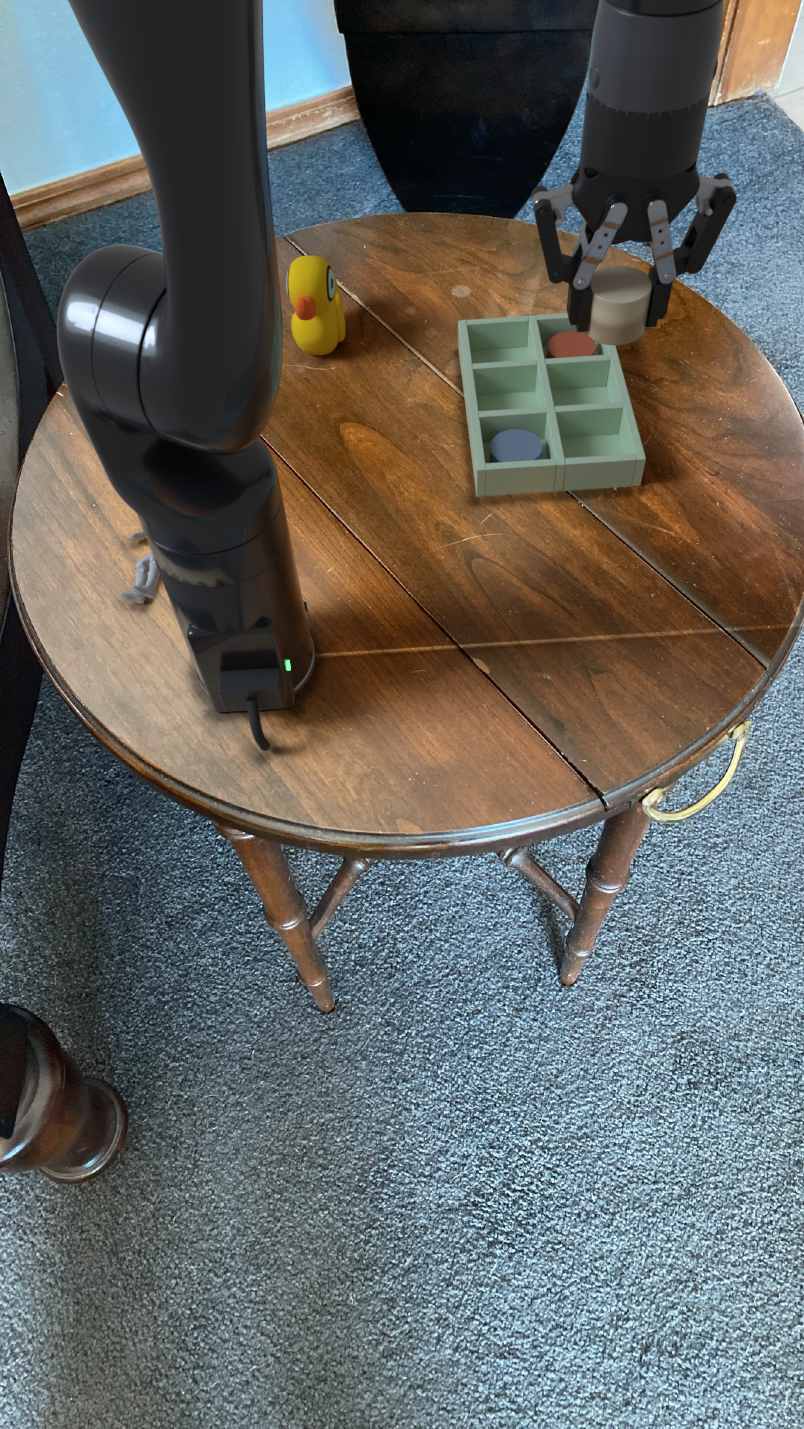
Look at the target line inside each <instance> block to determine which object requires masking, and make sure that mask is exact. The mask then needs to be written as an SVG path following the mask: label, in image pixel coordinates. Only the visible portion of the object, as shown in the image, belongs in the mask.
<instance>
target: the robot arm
mask: <svg viewBox="0 0 804 1429" xmlns="http://www.w3.org/2000/svg"><path fill="white" fill-rule="evenodd" d="M67 2H68V4H69V6H70V8H71V10H72V12H73V14H74V16H75V18H76V21H77V23H78V26H79V27H80V30H81V32H82V34H83V36H84V37H85V40H86V41H87V43H88V46H89V47H90V49H91V51H92V53H93V55H94V57H95V59H96V61H97V63H98V65H99V67H100V69H101V71H102V73H103V74H104V77H105V79H106V80H107V82H108V85H109V86H110V88H111V90H112V92H113V94H114V96H115V98H116V100H117V102H118V104H119V106H120V108H121V110H122V112H123V114H124V116H125V118H126V120H127V123H128V124H129V126H130V128H131V131H132V134H133V135H134V138H135V140H136V142H137V145H138V148H139V151H140V153H141V156H142V159H143V162H144V165H145V168H146V171H147V175H148V179H149V182H150V185H151V189H152V193H153V198H154V203H155V208H156V212H157V219H158V226H159V231H160V240H161V248H162V252H160V251H156V250H154V249H149V248H146V247H143V246H139V245H133V244H125V243H119V244H117V243H116V244H111V245H106V246H103V247H100V248H98V249H95V250H94V251H92V252H91V253H89V254H88V255H86V256H85V257H84V258H83V259H82V260H81V261H80V262H79V263H78V264H77V265H76V267H74V269H73V270H72V272H71V274H70V275H69V277H68V279H67V281H66V282H65V285H64V287H63V290H62V294H61V296H60V301H59V305H58V310H57V320H56V338H57V339H56V341H57V350H58V357H59V363H60V366H61V370H62V374H63V377H64V378H63V379H64V381H65V384H66V387H67V390H68V392H69V395H70V398H71V401H72V402H73V405H74V407H75V409H76V412H77V414H78V417H79V419H80V421H81V423H82V425H83V428H84V429H85V432H86V434H87V435H88V438H89V440H90V442H91V445H92V446H93V449H94V451H95V453H96V455H97V458H98V459H99V461H100V463H101V466H102V468H103V470H104V472H105V474H106V476H107V478H108V481H109V482H110V484H111V486H112V487H113V490H114V491H115V493H117V495H118V496H119V497H120V499H122V500H123V502H124V503H125V505H127V506H128V507H129V508H131V510H132V511H133V512H134V513H135V514H136V516H137V518H138V520H139V522H140V525H141V527H142V531H144V533H145V535H146V537H145V538H146V541H147V544H148V546H149V549H150V551H151V552H152V554H153V557H154V560H155V563H156V565H157V568H158V571H159V573H160V576H159V577H160V579H161V581H162V584H163V586H164V589H165V592H166V594H167V597H168V599H169V602H170V605H171V608H172V610H173V613H174V615H175V616H174V617H175V618H176V621H177V623H178V626H179V629H180V631H181V633H182V634H181V635H182V637H183V639H184V642H185V644H186V647H187V650H188V652H189V655H190V658H191V660H192V662H193V665H194V666H193V667H194V670H195V675H196V677H197V679H198V683H199V685H200V687H201V689H202V691H203V692H204V693H205V694H206V695H207V696H208V698H209V701H210V703H211V707H212V709H213V711H214V712H215V713H230V712H232V713H233V712H245V711H246V712H247V715H248V721H249V727H250V730H251V734H252V737H253V739H254V742H255V743H256V745H257V746H258V747H259V749H260V750H261V751H263V752H266V751H268V750H270V748H271V743H270V742H269V740H268V739H267V737H266V736H265V734H264V730H263V727H262V723H261V716H260V711H263V710H264V711H265V710H277V709H278V710H279V709H291V708H294V706H295V699H296V695H297V694H299V693H300V692H301V690H303V688H304V687H305V686H306V685H307V684H308V682H309V681H310V679H311V677H312V674H313V673H314V669H315V667H316V666H315V665H316V658H317V656H316V649H315V644H314V641H313V638H312V636H311V630H310V626H309V622H308V621H309V620H308V617H307V613H310V612H309V608H308V603H307V602H306V601H305V600H304V597H303V592H302V587H301V581H300V578H299V573H298V568H297V562H296V559H295V558H296V557H295V553H294V548H293V543H292V538H291V534H290V530H289V529H290V528H289V524H288V516H287V513H286V508H285V503H284V498H283V492H282V488H281V482H280V478H279V474H278V469H277V465H276V462H275V460H274V457H273V455H272V453H271V451H270V450H269V448H268V447H267V446H266V444H265V443H264V441H262V440H261V439H260V437H261V434H262V433H263V432H264V431H265V429H266V427H267V425H268V423H269V421H270V419H271V416H272V414H273V411H274V409H275V406H276V405H275V404H276V401H277V398H278V394H279V390H280V385H281V378H282V373H283V372H282V369H283V361H284V360H283V359H284V358H283V356H284V326H283V325H284V324H283V323H284V322H283V310H282V309H283V308H282V296H281V283H280V274H279V273H280V272H279V264H278V252H277V251H278V250H277V243H276V232H275V223H274V222H275V221H274V212H273V200H272V191H271V190H272V188H271V180H270V169H269V157H268V154H269V153H268V134H267V111H266V85H265V53H264V52H265V46H264V2H263V0H67ZM724 5H725V0H599V1H598V5H597V10H596V14H595V15H596V16H595V19H594V24H593V28H592V35H591V41H590V42H591V43H590V54H589V63H588V72H587V73H588V74H587V82H586V83H587V85H586V95H585V96H586V97H585V103H584V104H585V105H584V114H583V125H582V136H581V145H580V155H579V161H578V166H577V168H576V170H575V171H574V173H573V175H572V176H571V178H570V181H569V183H567V184H565V185H562V186H558V187H555V188H553V189H550V190H549V188H547V187H546V186H544V185H538V186H535V187H534V188H533V189H532V190H531V194H530V198H531V204H532V209H533V213H534V219H535V223H536V227H537V232H538V237H539V240H540V246H541V249H542V254H543V258H544V263H545V268H546V272H547V277H548V280H549V282H551V283H552V284H557V285H558V284H561V283H562V282H563V283H567V284H568V290H567V297H566V298H567V299H566V313H568V318H569V322H570V324H571V325H575V326H576V331H577V332H587V326H588V318H589V310H590V301H591V293H592V288H591V284H590V281H591V279H592V277H593V275H594V273H595V272H596V271H597V268H598V267H599V264H602V263H603V262H604V260H605V258H606V255H607V253H608V251H609V249H610V247H611V246H612V245H620V244H624V243H626V242H630V241H631V242H635V243H640V244H642V243H643V244H644V243H649V245H650V249H651V254H652V260H653V263H654V264H653V266H652V267H649V270H648V274H647V275H648V276H649V277H650V279H651V281H652V291H651V297H650V303H649V308H648V314H647V320H646V325H645V329H646V328H647V329H649V328H657V325H658V320H664V318H665V317H666V315H667V313H668V310H669V304H670V299H671V293H672V288H673V284H674V281H675V280H676V279H677V278H678V277H679V276H681V275H683V274H687V273H688V274H689V275H695V274H698V273H699V272H701V271H702V270H703V268H704V266H705V264H706V262H707V260H708V258H709V256H710V254H711V252H712V250H713V248H714V246H715V244H716V242H717V240H718V238H719V236H720V234H721V233H722V230H723V228H724V227H725V225H726V222H727V221H728V219H729V217H730V215H731V213H732V211H733V209H734V207H735V206H736V203H737V201H738V200H737V199H738V198H737V194H736V192H735V189H734V186H733V184H732V180H731V179H730V177H729V175H728V173H725V172H719V173H717V174H715V175H714V176H713V177H709V176H705V175H701V174H699V172H698V169H697V168H698V167H697V162H698V159H699V154H700V149H701V143H702V138H703V133H704V128H705V122H706V117H707V113H708V108H709V102H710V97H711V92H712V88H713V87H712V86H713V81H714V80H715V77H716V76H717V71H718V68H719V67H718V66H719V52H720V46H721V40H722V34H723V33H722V31H723V30H722V29H723V20H724V19H723V17H724ZM695 197H696V198H695ZM694 198H695V206H696V208H697V210H696V212H695V214H694V216H693V219H692V221H691V223H690V225H689V227H688V229H687V231H686V233H685V235H684V237H683V240H682V241H681V244H680V246H678V247H676V248H673V241H672V235H671V230H670V225H671V224H672V223H673V222H674V220H676V218H677V217H678V216H679V215H680V213H681V212H682V211H684V209H685V208H686V207H687V206H688V204H690V202H691V201H692V200H693V199H694ZM572 205H574V206H575V208H576V209H577V211H578V212H579V214H580V215H581V217H582V219H583V220H584V221H583V222H582V226H581V228H580V230H579V235H578V241H577V243H576V245H575V247H574V249H573V252H572V254H571V255H568V254H565V253H562V249H561V245H560V240H559V234H558V230H557V227H560V226H561V225H562V224H563V223H564V222H565V220H566V217H567V210H568V208H569V207H570V206H572Z"/></svg>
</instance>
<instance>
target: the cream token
mask: <svg viewBox="0 0 804 1429" xmlns="http://www.w3.org/2000/svg"><path fill="white" fill-rule="evenodd" d="M590 284H591V288H592V293H591V301H590V310H589V318H588V326H587V332H586V334H587V335H588V336H589V337H590V338H591V339H593V340H595V341H597V342H599V343H602V344H606V345H616V346H624V345H625V346H626V345H628V344H632V343H634V342H635V341H637V340H639V339H640V338H641V337H642V336H643V334H644V333H645V330H646V326H645V325H646V320H647V314H648V308H649V303H650V297H651V291H652V281H651V279H650V277H649V276H648V274H647V273H646V272H645V271H643V270H641V269H639V268H637V267H634V266H630V265H621V264H619V265H618V264H617V265H609V266H605V267H602V268H600V269H598V270H596V271H595V273H594V275H593V277H592V279H591V281H590Z"/></svg>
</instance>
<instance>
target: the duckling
mask: <svg viewBox="0 0 804 1429" xmlns="http://www.w3.org/2000/svg"><path fill="white" fill-rule="evenodd" d="M336 275H337V274H336V273H335V271H334V269H333V268H332V266H331V265H330V263H329V262H328V261H327V260H326V259H325V258H323V257H321V256H319V255H312V254H311V255H310V254H309V255H301V256H299V257H296V258H295V259H294V260H293V261H292V262H291V263H290V265H289V267H288V268H287V273H286V278H285V287H286V293H287V298H288V299H289V303H291V305H292V306H293V308H294V312H293V314H292V316H291V322H290V324H291V325H290V327H291V334H292V336H293V339H294V341H295V343H296V345H297V346H298V348H299V349H300V350H301V351H303V353H306V354H308V355H311V356H327V355H329V354H331V353H332V352H333V351H334V350H335V349H336V348H337V346H338V344H339V343H341V342H343V341H344V340H345V337H346V318H345V308H344V303H343V299H342V295H341V293H340V289H339V285H338V279H337V276H336Z"/></svg>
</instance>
